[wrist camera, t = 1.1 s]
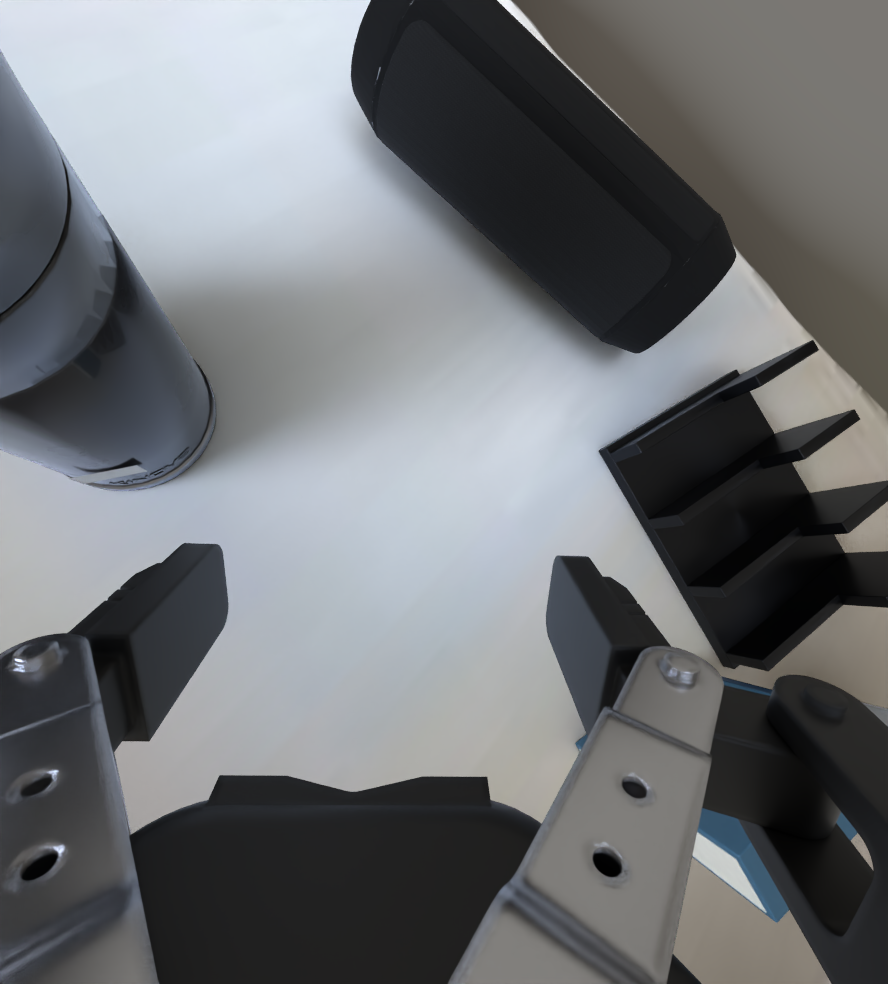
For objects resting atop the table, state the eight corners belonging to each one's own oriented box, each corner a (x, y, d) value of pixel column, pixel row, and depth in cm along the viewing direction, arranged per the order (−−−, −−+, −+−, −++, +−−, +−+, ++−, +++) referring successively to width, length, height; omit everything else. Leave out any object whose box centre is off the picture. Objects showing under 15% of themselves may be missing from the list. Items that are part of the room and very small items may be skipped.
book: (573, 742, 31) (737, 856, 19) (671, 663, 34) (873, 716, 21) (597, 785, 31) (777, 926, 19) (694, 701, 34) (909, 777, 21)
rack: (598, 450, 35) (662, 422, 28) (726, 374, 39) (809, 333, 32) (723, 666, 35) (818, 689, 28) (840, 567, 39) (948, 566, 32)
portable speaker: (666, 300, 39) (777, 211, 29) (602, 384, 36) (702, 317, 27) (424, 74, 37) (459, -100, 27) (338, 146, 34) (343, -20, 25)
